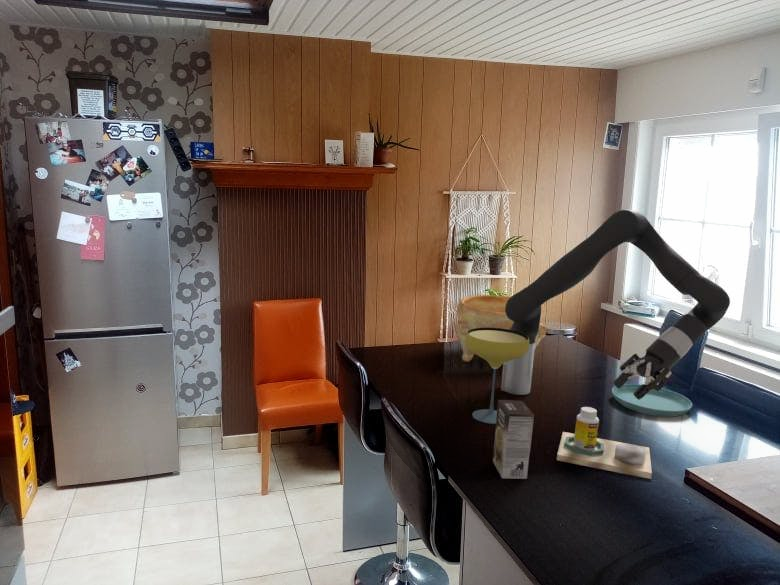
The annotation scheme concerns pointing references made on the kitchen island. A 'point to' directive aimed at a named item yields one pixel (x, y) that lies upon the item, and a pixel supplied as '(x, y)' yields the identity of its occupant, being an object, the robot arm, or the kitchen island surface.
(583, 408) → the supplement bottle
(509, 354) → the cocktail glass
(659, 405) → the saucer
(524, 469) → the coffee box
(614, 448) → the carrier board
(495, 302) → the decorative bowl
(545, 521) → the kitchen island surface
